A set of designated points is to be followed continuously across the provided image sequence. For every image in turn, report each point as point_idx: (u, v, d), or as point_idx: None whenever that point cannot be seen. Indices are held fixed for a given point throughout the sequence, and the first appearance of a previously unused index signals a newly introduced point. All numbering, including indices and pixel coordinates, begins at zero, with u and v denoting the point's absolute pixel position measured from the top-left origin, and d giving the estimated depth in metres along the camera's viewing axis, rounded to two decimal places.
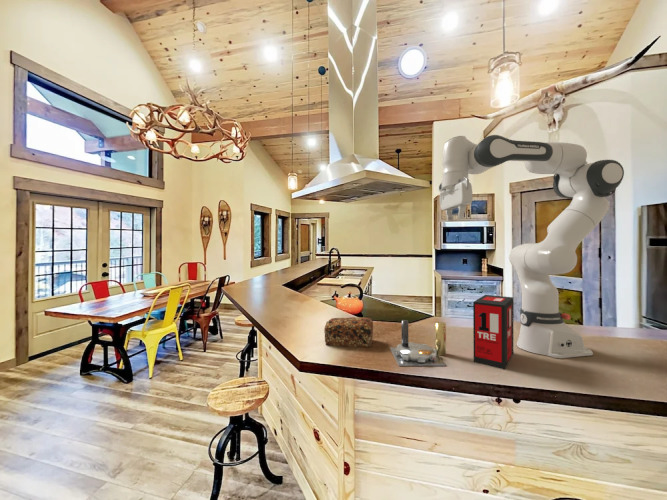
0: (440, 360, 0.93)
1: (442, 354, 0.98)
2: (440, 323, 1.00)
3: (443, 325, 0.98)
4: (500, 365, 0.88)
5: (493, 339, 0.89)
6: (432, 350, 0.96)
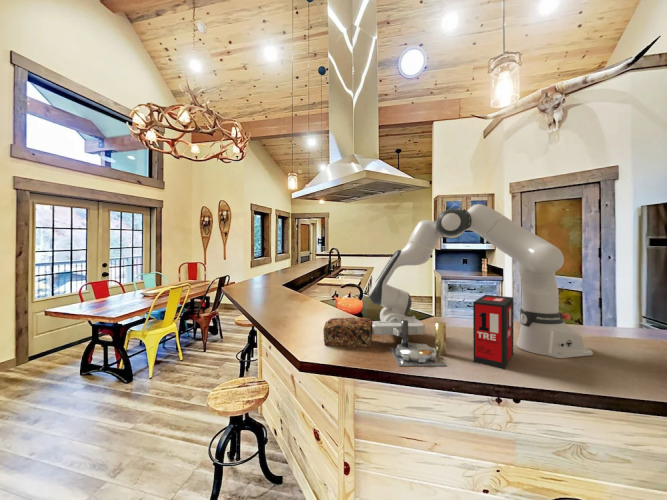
0: (440, 360, 0.93)
1: (442, 354, 0.98)
2: (440, 323, 1.00)
3: (443, 325, 0.98)
4: (500, 365, 0.88)
5: (493, 339, 0.89)
6: (432, 350, 0.96)
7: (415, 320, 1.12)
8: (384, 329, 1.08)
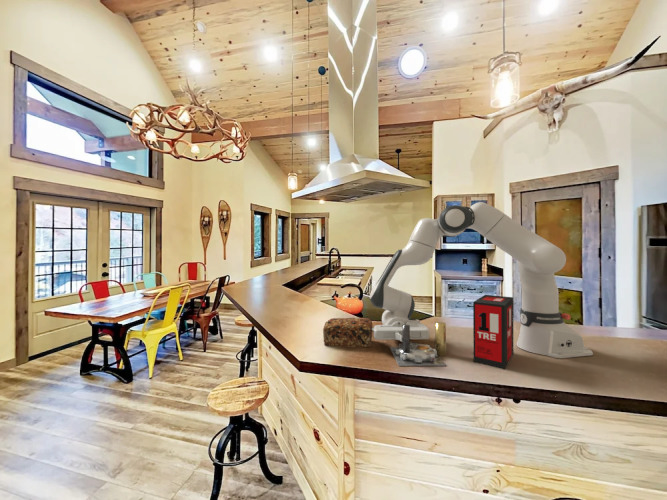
0: (440, 360, 0.93)
1: (442, 354, 0.98)
2: (440, 323, 1.00)
3: (443, 325, 0.98)
4: (500, 365, 0.88)
5: (493, 339, 0.89)
6: (417, 344, 1.03)
7: (419, 324, 1.07)
8: (387, 334, 1.02)
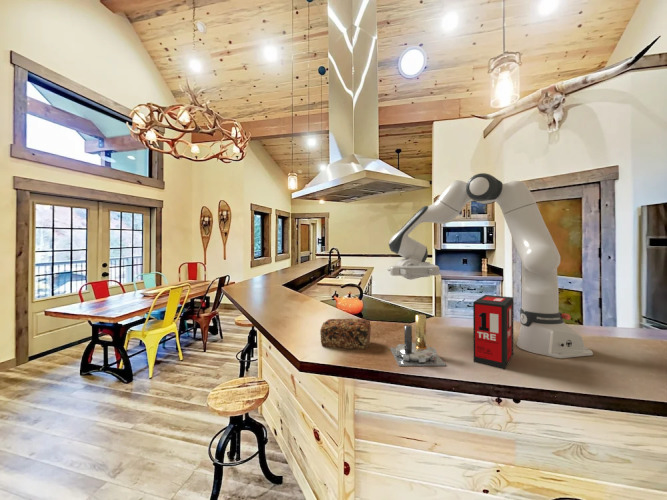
0: (440, 360, 0.93)
1: (422, 346, 0.98)
2: (420, 315, 1.00)
3: (423, 317, 0.98)
4: (500, 365, 0.88)
5: (493, 339, 0.89)
6: (414, 343, 1.03)
7: (430, 264, 1.22)
8: None
